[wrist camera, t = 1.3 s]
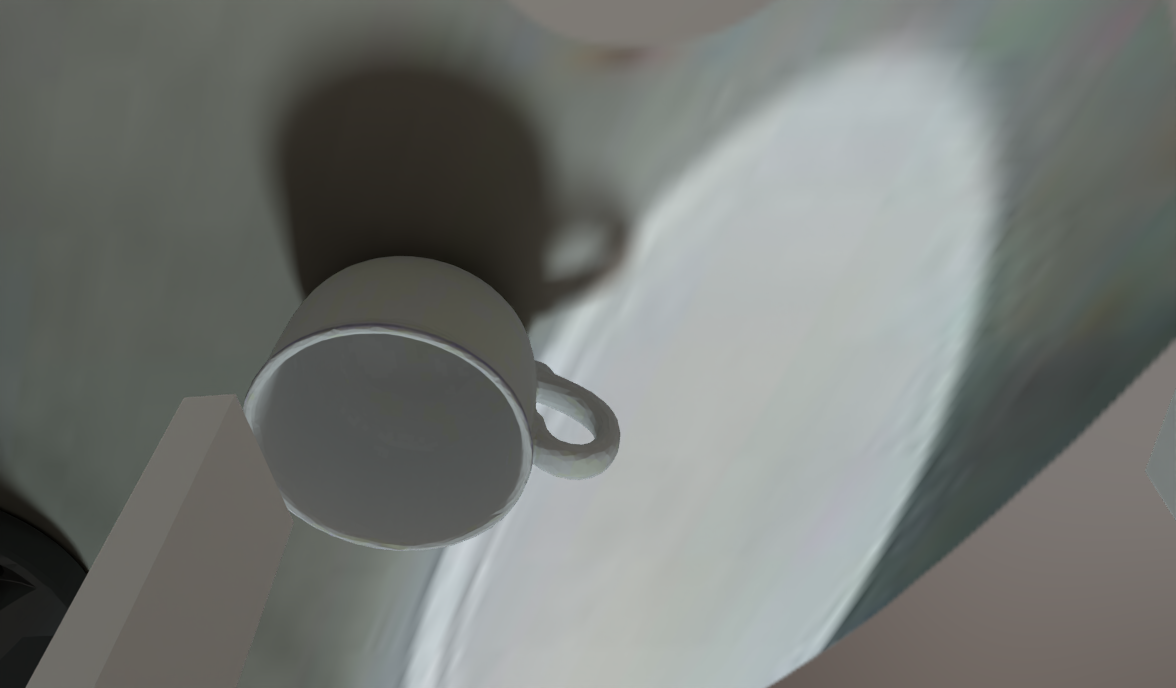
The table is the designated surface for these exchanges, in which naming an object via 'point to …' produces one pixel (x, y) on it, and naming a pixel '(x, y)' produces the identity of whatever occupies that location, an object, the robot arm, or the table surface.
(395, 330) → the teacup
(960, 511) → the table surface
